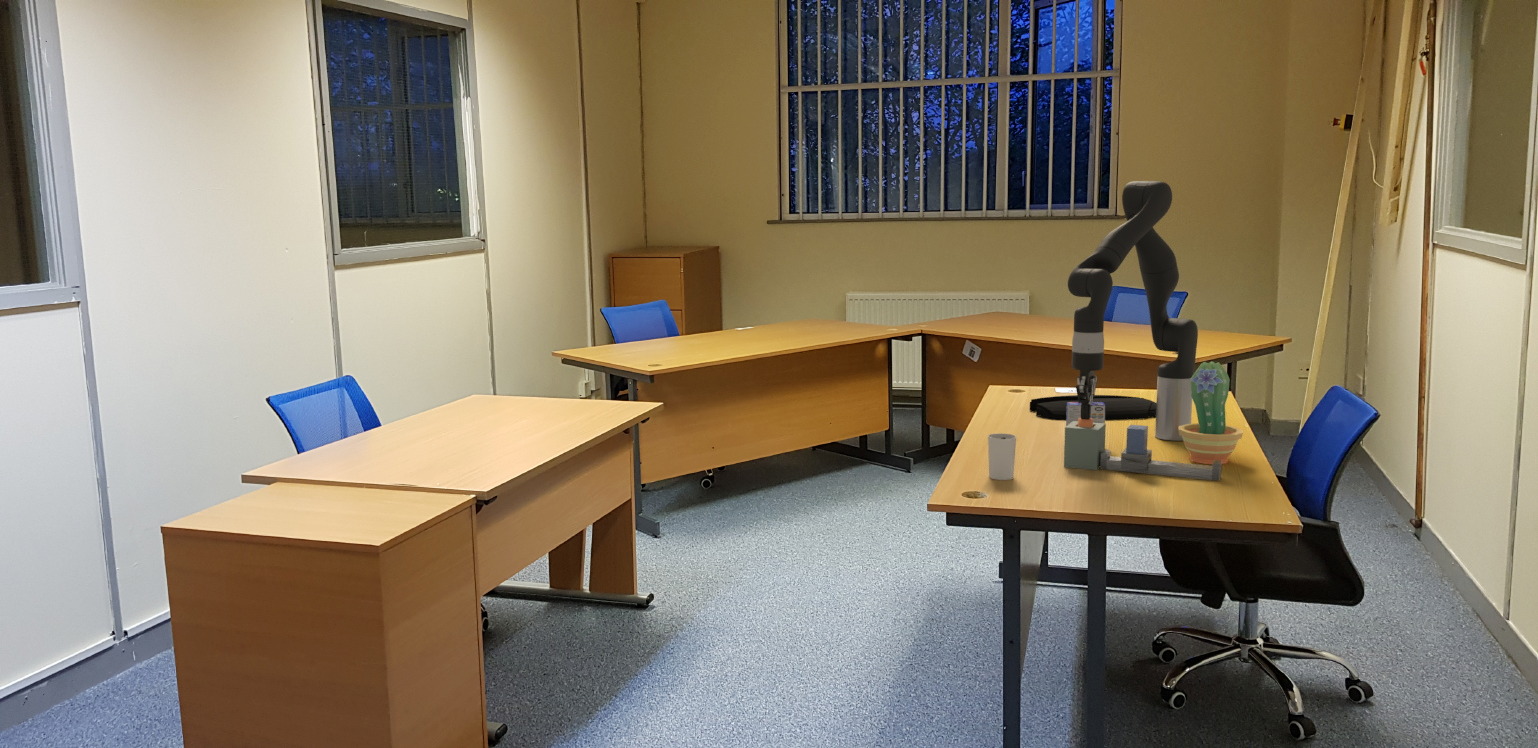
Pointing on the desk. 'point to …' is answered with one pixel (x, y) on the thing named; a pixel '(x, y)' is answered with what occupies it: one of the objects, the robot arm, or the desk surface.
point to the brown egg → (1085, 423)
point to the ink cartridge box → (1075, 412)
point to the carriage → (1136, 449)
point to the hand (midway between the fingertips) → (1085, 418)
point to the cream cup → (1001, 455)
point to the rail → (1166, 468)
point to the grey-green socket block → (1084, 445)
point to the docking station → (1113, 404)
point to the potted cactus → (1210, 417)
